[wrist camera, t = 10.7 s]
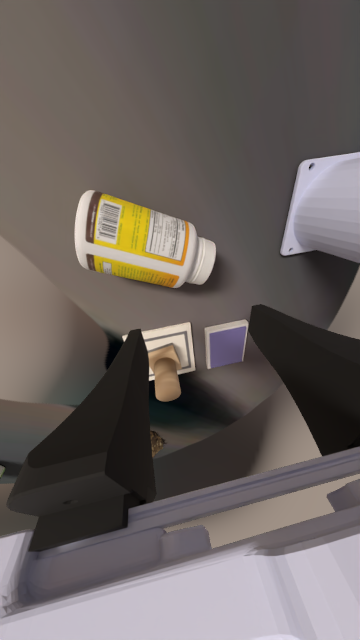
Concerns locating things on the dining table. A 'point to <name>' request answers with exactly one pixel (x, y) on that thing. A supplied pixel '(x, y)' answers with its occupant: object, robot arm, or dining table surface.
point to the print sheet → (180, 340)
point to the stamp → (165, 371)
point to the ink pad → (225, 343)
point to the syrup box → (1, 471)
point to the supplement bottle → (139, 243)
